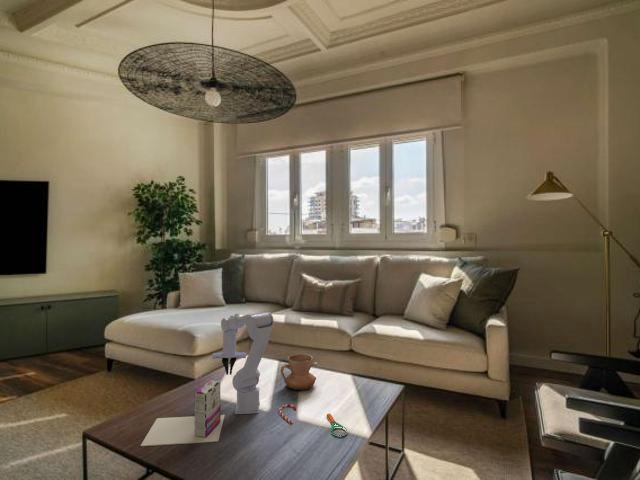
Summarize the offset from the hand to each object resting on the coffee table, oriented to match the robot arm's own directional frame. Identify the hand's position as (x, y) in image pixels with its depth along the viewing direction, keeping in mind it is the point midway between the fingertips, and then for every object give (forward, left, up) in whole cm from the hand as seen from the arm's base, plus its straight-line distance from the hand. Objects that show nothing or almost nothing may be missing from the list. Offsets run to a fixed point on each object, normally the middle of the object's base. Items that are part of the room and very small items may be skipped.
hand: (229, 373), depth 160 cm
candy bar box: (+5, +26, -10) cm, 29 cm away
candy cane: (-26, +18, -11) cm, 34 cm away
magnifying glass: (-43, +29, -11) cm, 53 cm away
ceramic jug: (-32, -8, -11) cm, 35 cm away
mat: (+13, +25, -10) cm, 30 cm away
